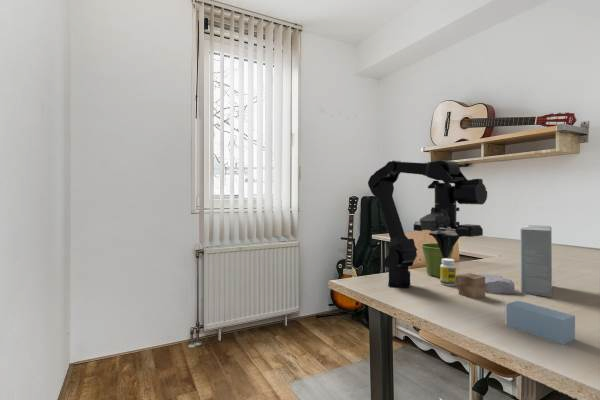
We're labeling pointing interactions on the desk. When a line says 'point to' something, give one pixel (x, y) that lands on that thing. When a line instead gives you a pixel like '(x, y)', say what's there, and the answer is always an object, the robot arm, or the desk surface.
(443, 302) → the desk surface
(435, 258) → the plant pot
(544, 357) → the desk surface
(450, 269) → the supplement bottle
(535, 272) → the hard drive box
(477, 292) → the walnut block
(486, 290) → the stone block
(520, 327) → the slate block
